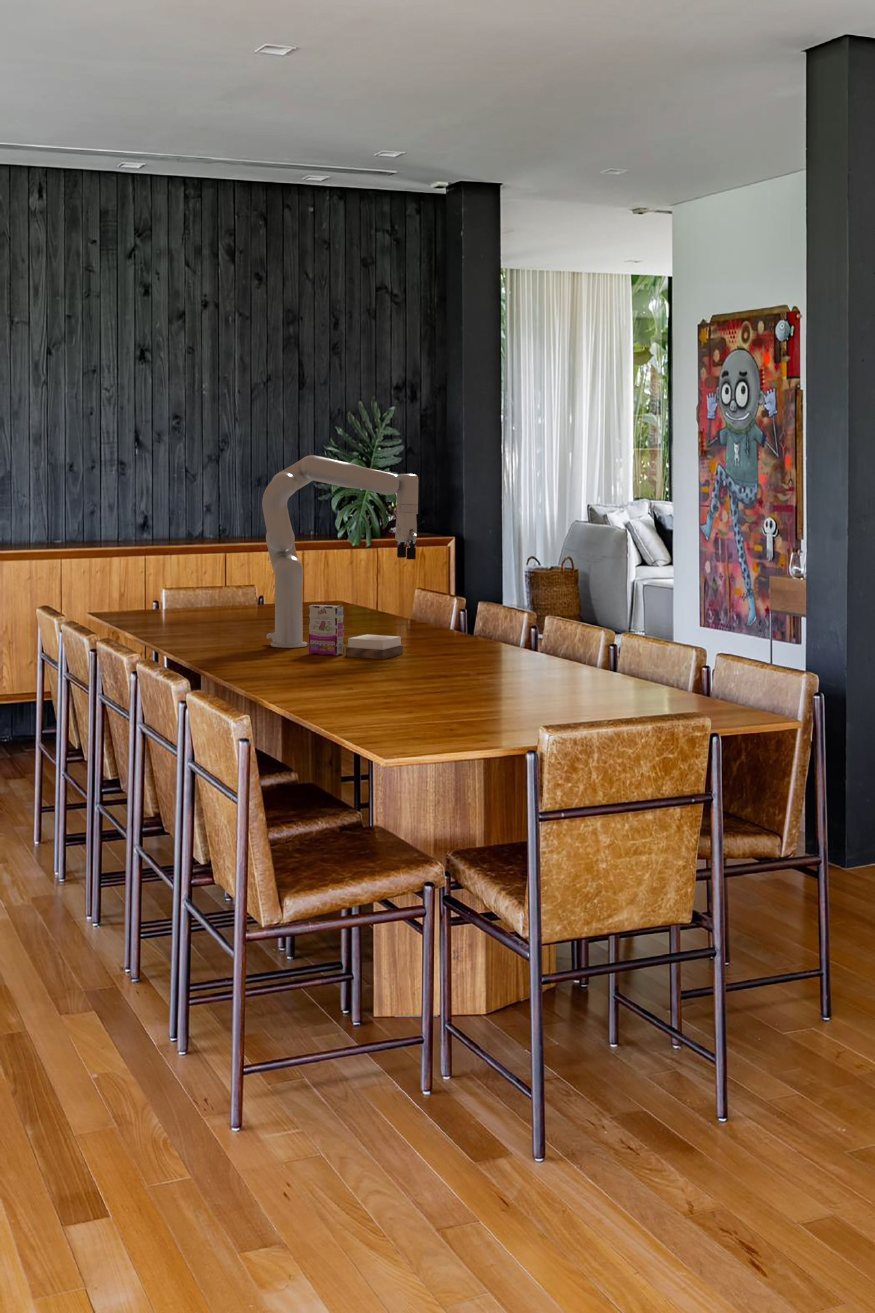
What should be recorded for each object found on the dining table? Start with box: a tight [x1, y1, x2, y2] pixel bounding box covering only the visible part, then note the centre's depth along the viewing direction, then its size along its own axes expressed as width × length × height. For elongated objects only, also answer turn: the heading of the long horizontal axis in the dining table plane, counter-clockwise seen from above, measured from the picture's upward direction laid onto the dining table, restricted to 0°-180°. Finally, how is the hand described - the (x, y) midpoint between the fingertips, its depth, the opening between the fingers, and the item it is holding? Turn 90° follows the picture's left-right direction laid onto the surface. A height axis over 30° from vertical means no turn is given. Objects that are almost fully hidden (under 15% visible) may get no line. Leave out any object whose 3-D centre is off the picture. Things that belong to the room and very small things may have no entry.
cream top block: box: [347, 633, 402, 650], centre depth 472 cm, size 13×13×3 cm
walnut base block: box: [345, 644, 404, 660], centre depth 472 cm, size 14×14×4 cm
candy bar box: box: [308, 604, 345, 657], centre depth 473 cm, size 11×5×16 cm, turn 62°
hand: (406, 558), depth 498 cm, fingers open, 9 cm apart
